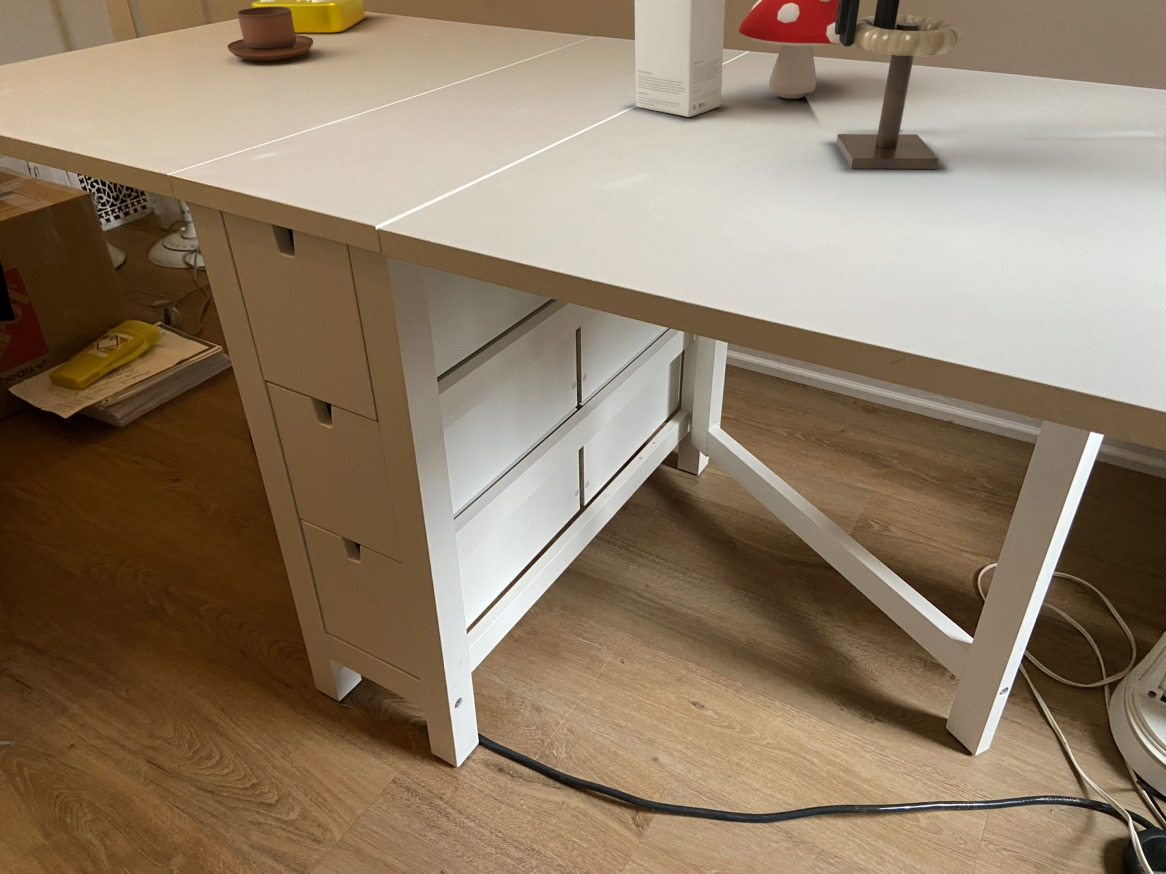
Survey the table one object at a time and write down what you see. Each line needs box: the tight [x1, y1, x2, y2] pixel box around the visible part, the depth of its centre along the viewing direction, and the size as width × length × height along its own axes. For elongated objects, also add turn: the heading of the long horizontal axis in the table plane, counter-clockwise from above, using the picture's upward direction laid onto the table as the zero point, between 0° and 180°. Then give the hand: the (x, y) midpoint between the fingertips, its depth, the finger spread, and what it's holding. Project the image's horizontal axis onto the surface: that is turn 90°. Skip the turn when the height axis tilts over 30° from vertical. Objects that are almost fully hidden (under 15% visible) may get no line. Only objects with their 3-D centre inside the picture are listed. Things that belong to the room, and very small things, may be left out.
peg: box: [836, 22, 939, 170], centre depth 83 cm, size 8×8×12 cm
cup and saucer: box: [227, 7, 314, 61], centre depth 127 cm, size 12×12×6 cm
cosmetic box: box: [634, 0, 726, 118], centre depth 98 cm, size 8×7×16 cm
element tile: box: [251, 0, 366, 34], centre depth 148 cm, size 15×15×5 cm
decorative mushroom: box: [737, 0, 843, 100], centre depth 101 cm, size 14×14×15 cm
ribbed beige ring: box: [853, 14, 962, 57], centre depth 80 cm, size 10×10×2 cm
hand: (862, 41), depth 81 cm, fingers closed on ribbed beige ring, 2 cm apart
